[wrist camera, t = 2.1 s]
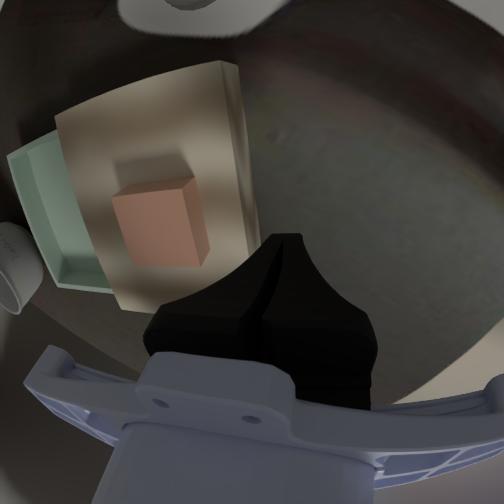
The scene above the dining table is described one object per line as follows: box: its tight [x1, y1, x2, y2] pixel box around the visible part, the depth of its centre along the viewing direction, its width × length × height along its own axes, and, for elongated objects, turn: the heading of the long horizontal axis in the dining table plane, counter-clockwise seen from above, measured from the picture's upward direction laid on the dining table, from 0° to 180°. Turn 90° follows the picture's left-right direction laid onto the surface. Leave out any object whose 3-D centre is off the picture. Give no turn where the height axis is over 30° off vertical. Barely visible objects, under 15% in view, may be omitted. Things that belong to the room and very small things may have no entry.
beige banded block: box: [55, 60, 261, 314], centre depth 20 cm, size 18×13×4 cm
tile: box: [111, 177, 211, 267], centre depth 17 cm, size 5×5×2 cm
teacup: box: [0, 222, 43, 314], centre depth 26 cm, size 14×11×8 cm
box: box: [7, 130, 114, 294], centre depth 23 cm, size 16×10×3 cm, turn 7°
